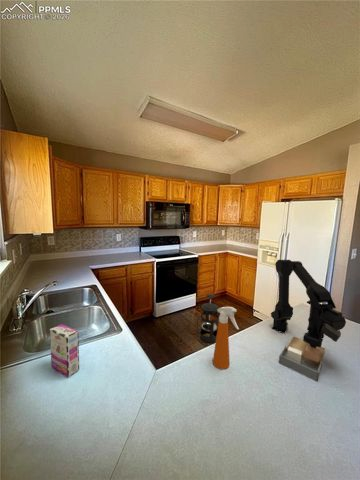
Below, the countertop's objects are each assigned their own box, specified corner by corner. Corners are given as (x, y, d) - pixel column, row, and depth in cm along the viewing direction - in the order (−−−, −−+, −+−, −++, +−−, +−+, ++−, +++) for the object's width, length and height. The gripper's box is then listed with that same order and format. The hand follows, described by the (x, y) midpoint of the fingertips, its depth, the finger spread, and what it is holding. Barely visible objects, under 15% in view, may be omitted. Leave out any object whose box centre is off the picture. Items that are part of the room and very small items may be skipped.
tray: (278, 362, 86) (279, 355, 85) (284, 352, 92) (285, 345, 92) (317, 381, 76) (318, 373, 76) (321, 368, 83) (322, 361, 82)
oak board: (285, 353, 92) (286, 348, 92) (293, 340, 101) (293, 336, 101) (319, 368, 83) (320, 362, 83) (324, 353, 93) (324, 348, 92)
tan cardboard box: (304, 357, 86) (305, 350, 86) (306, 351, 90) (306, 345, 89) (318, 362, 83) (319, 356, 82) (319, 356, 87) (320, 350, 86)
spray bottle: (230, 378, 77) (234, 313, 74) (209, 362, 85) (212, 303, 82) (240, 369, 81) (244, 308, 78) (219, 355, 89) (222, 299, 86)
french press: (216, 332, 107) (218, 291, 104) (221, 343, 98) (224, 298, 95) (194, 333, 106) (196, 291, 103) (198, 344, 96) (200, 299, 94)
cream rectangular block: (288, 356, 89) (286, 360, 87) (289, 346, 88) (287, 349, 86) (300, 362, 86) (299, 365, 84) (302, 351, 85) (301, 354, 83)
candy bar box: (80, 369, 79) (79, 330, 77) (68, 378, 74) (66, 337, 73) (63, 359, 84) (61, 323, 82) (50, 367, 80) (48, 328, 78)
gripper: (338, 333, 75) (334, 371, 77) (342, 315, 89) (338, 348, 91) (304, 322, 82) (301, 357, 84) (312, 308, 96) (309, 338, 98)
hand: (313, 350), depth 89 cm, fingers closed
